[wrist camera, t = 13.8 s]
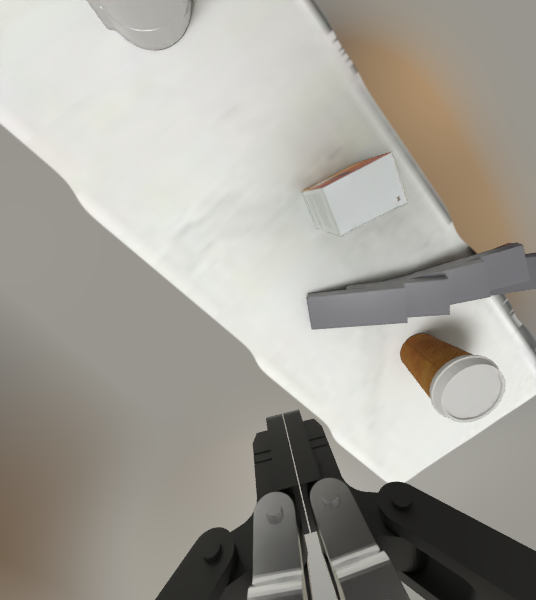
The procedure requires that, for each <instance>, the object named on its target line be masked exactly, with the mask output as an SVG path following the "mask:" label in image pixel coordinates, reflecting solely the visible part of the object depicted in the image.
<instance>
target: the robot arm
mask: <svg viewBox="0 0 536 600" xmlns="http://www.w3.org/2000/svg"><path fill="white" fill-rule="evenodd" d="M87 1H88V3H89V4H90V6H91V7H92V8H93V10H94V11H95V13H96V14H97V15H98V17H99V18H100V19H101V21H102V22H103V24H104V25H105V26H106V28H108V29H113V30H117V31H118V32H119V33H120V34H121V35H123V36H124V37H125V38H126V39H127V40H128V41H130V42H131V43H133V44H135V45H136V46H139V47H141V48H144V49H149V50H159V49H165V48H167V47H169V46H172V45H173V44H174V43H176V42H177V41H178V40H179V39H180V38H181V37H182V35H183V34H184V33H185V31H186V28H187V26H188V24H189V20H190V16H191V6H192V3H191V0H87ZM283 415H284V419H285V423H286V427H287V432H288V436H289V440H290V444H291V449H292V453H293V457H294V461H295V465H296V470H297V474H298V478H299V483H300V487H301V491H302V495H303V500H304V504H305V508H306V512H307V516H308V521H309V525H310V529H311V532H315V531H317V534H318V538H319V542H320V546H321V550H322V554H323V559H324V562H325V565H326V568H327V571H328V574H329V577H330V580H331V583H332V586H333V589H334V592H335V596H336V599H337V600H410V598H409V596H408V594H407V592H406V590H405V588H404V587H403V585H402V582H403V583H405V584H406V585H407V586H409V587H410V588H411V589H412V590H414V591H415V592H416V593H418V594H419V595H420V596H422V597H423V598H424V599H425V600H536V551H534V550H532V549H531V548H528V547H527V546H525V545H523V544H521V543H519V542H517V541H515V540H513V539H512V538H510V537H508V536H506V535H504V534H502V533H500V532H498V531H496V530H494V529H492V528H490V527H489V526H487V525H485V524H483V523H481V522H479V521H477V520H475V519H474V518H472V517H470V516H468V515H466V514H464V513H462V512H460V511H458V510H456V509H454V508H453V507H451V506H449V505H447V504H445V503H443V502H441V501H439V500H437V499H435V498H434V497H432V496H430V495H428V494H426V493H424V492H422V491H420V490H418V489H416V488H415V487H412V486H411V485H409V484H406V483H403V482H390V483H387V484H385V485H384V486H383V487H382V488H381V489H380V491H379V493H373V492H363V491H359V490H356V489H354V488H352V487H350V486H349V485H348V484H347V483H346V482H345V481H344V479H343V478H342V476H341V474H340V471H339V469H338V466H337V464H336V461H335V458H334V456H333V453H332V451H331V448H330V446H329V443H328V441H327V438H326V436H325V433H324V431H323V428H322V426H321V425H320V424H319V423H318V422H317V421H316V420H315V419H311V420H306V421H302V418H301V415H300V412H299V410H295V411H291V412H287V413H284V414H283ZM266 421H267V428H268V430H267V431H263V432H259V433H257V434H256V437H255V439H254V442H253V451H254V463H255V477H256V488H257V489H256V490H257V504H256V507H255V509H254V512H253V514H252V516H251V517H250V518H249V519H248V520H247V521H246V522H245V523H244V524H242V525H241V526H240V527H238V528H236V529H235V530H233V531H232V532H229V531H228V530H226V529H224V528H220V527H219V528H212V529H210V530H208V531H206V532H205V533H203V534H202V535H201V536H200V537H199V538H198V540H197V541H196V542H195V544H194V545H193V547H192V548H191V549H190V551H189V552H188V554H187V555H186V557H185V558H184V559H183V561H182V562H181V564H180V565H179V567H178V568H177V570H176V571H175V572H174V574H173V575H172V577H171V578H170V580H169V581H168V582H167V584H166V585H165V586H164V588H163V589H162V591H161V592H160V594H159V595H158V597H157V598H156V599H155V600H313V593H312V585H311V578H310V571H309V564H308V559H307V556H308V552H307V546H306V542H305V537H304V535H305V534H309V529H308V524H307V520H306V516H305V511H304V507H303V503H302V498H301V494H300V490H299V485H298V481H297V476H296V473H295V468H294V463H293V459H292V455H291V450H290V447H289V442H288V438H287V434H286V430H285V425H284V421H283V417H282V414H280V415H275V416H271V417H268V418H266ZM400 580H401V581H402V582H401V581H400Z"/></svg>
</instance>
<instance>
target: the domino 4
mask: <svg viewBox="0 0 536 600" xmlns="http://www.w3.org/2000/svg"><path fill="white" fill-rule="evenodd" d="M479 258H480V259H482V260H484V261H485V265H486V271H487V278H488V284H489V291H490V290H494V289H498V288H503V287H507V286H511V285H515V284H519V283H523V282H527V281H530V277H529V272H528V267H527V262H526V257H525V252H524V248H523V245H522V244H519V243H513V244H510V245H506V246H503V247H500V248H496V249H493V250H489V251H486V252H483V253H479V254H476V255H472V256H469V257H465V258H462V259H458V260H455V261H452V262H448V263H445V264H441V265H438V266H434V267H431V268H428V269H424V270H421V271H417V272H414V273H413V274H416V273H420V272H424V271H428V270H432V269H437V268H441V267H445V266H449V265H454V264H458V263H462V262H466V261H470V260H475V259H479Z"/></svg>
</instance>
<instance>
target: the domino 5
mask: <svg viewBox="0 0 536 600" xmlns="http://www.w3.org/2000/svg"><path fill="white" fill-rule="evenodd" d="M525 257H526V262H527V267H528V272H529V277H530V281H527V282H523V283H519V284H515V285H511V286H507V287H503V288H498V289H494V290H490V296H491V295H497V294H504V293H510V292H517V291H524V290H530V289H536V253H531V254H525Z"/></svg>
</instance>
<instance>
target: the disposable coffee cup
mask: <svg viewBox="0 0 536 600" xmlns="http://www.w3.org/2000/svg"><path fill="white" fill-rule="evenodd" d="M400 357H401V360H402V362H403V363H404V365H405V366H406V367H407V368H408V370H409V371H410V372H411V374H412V375H413V376H414V378H415V379H416V380H417V382H418V383H419V384H420V386H421V387H422V388H423V390H424V391H425V392H426V394H427V395H428V396H429V397H430V399H431V401H432V404H433V406H434V408H435V410H436V411H437V412H438V413H439V414H441V415H442V416H444V417H446V418H450V419H452V420H454V421H457V422H472V421H476V420H478V419H481V418H483V417H484V416H486V415H488V414H489V413H490V412H491V411H492V410H494V409H495V408H496V406H497V405H498V404H499V402H500V401H501V399H502V397H503V394H504V392H505V379H504V377H503V375H502V373H501V372H500V371H499V369H498V367H497V365H496V364H495V363H494V362H493V361H492V360H490V359H488V358H486V357H483V356H478V355H472V354H470V353H468V352H466V351H464V350H461V349H459V348H457V347H455V346H452V345H450V344H448V343H446V342H444V341H441V340H439V339H437V338H435V337H432V336H430V335H428V334H416V335H414V336H412V337H410V338H409V339H408V340H407V341H406V342H405V343H404V344H403V346H402V348H401V352H400Z"/></svg>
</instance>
